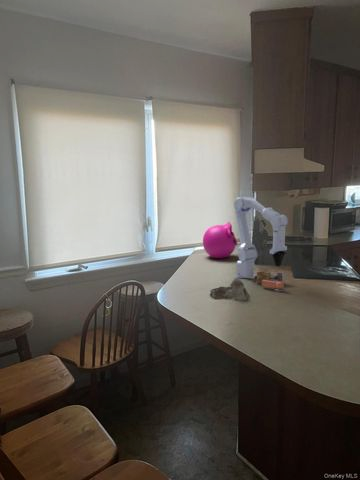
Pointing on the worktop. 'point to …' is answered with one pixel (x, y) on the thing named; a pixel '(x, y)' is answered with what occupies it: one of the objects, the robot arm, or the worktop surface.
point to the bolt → (277, 276)
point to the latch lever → (273, 284)
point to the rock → (231, 291)
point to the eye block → (263, 275)
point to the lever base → (279, 290)
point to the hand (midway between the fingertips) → (278, 265)
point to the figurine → (219, 241)
